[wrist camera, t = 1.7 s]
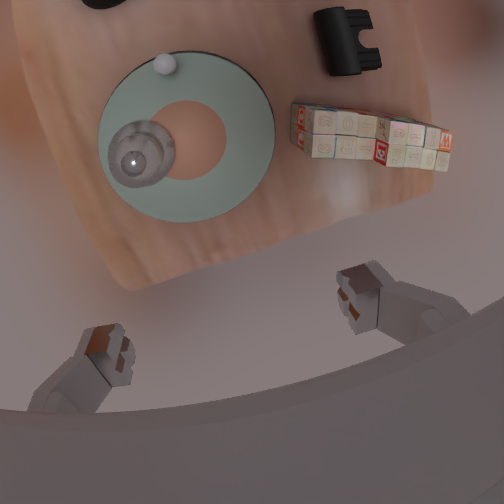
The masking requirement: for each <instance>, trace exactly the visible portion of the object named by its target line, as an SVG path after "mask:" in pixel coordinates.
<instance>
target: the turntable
mask: <svg viewBox="0 0 504 504" xmlns="http://www.w3.org/2000/svg"><path fill="white" fill-rule="evenodd" d="M139 120H148V121H152V122H155V123H157V124H159V125H161V126H162V127H164V128H165V129H166V130H167V131H168V133H169V134H170V136H171V138H172V140H173V143H174V147H175V156H174V161H173V164H172V167H171V169H170V171H169V172H168V174H167V175H166V176H165V177H164V178H163V179H162V180H161V181H159V182H158V183H156V184H154V185H151V186H148V187H141V188H128V187H125V186H123V185H121V184H119V183H118V182H117V181H116V180H115V179H114V177H113V176H112V174H111V172H110V168H109V162H108V148H109V144H110V142H111V140H112V138H113V136H114V135H115V134H116V132H117V131H118V130H120V129H121V128H122V127H124V126H125V125H127V124H129V123H131V122H134V121H139ZM274 142H275V128H274V120H273V115H272V111H271V109H270V106H269V103H268V101H267V99H266V97H265V95H264V93H263V92H262V90H261V89H260V87H259V86H258V85H257V83H256V82H255V81H254V80H253V79H252V78H251V77H250V76H249V75H248V74H247V73H246V72H244V71H243V70H242V69H240V68H239V67H238V66H236V65H234V64H232V63H230V62H228V61H226V60H224V59H221V58H219V57H216V56H212V55H207V54H202V53H177V54H172V55H170V54H166V53H164V54H160V55H158V56H157V57H156V58H155V60H153V61H151V62H149V63H147V64H145V65H143V66H141V67H140V68H138V69H137V70H135V71H134V72H132V73H131V74H130V75H129V76H128V77H127V78H126V79H124V80H123V81H122V83H121V84H120V85H119V86H118V87H117V88H116V90H115V91H114V93H113V94H112V96H111V97H110V99H109V101H108V103H107V105H106V107H105V109H104V111H103V115H102V118H101V121H100V126H99V133H98V148H99V156H100V160H101V164H102V167H103V170H104V172H105V175H106V177H107V179H108V180H109V182H110V184H111V186H112V187H113V188H114V190H115V191H116V192H117V194H118V195H119V196H120V197H121V198H122V199H123V200H124V201H125V202H127V203H128V204H129V205H131V206H132V207H133V208H135V209H136V210H138V211H140V212H141V213H143V214H146V215H148V216H150V217H152V218H156V219H159V220H163V221H169V222H178V223H189V222H198V221H203V220H207V219H211V218H214V217H217V216H219V215H221V214H224V213H226V212H227V211H229V210H231V209H233V208H234V207H236V206H237V205H238V204H240V203H241V202H242V201H244V200H245V199H246V198H247V197H248V196H249V195H250V194H251V193H252V192H253V191H254V189H255V188H256V187H257V186H258V185H259V183H260V181H261V180H262V178H263V177H264V175H265V173H266V171H267V169H268V167H269V164H270V161H271V158H272V154H273V149H274Z"/></svg>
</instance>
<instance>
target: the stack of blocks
mask: <svg viewBox="0 0 504 504" xmlns="http://www.w3.org/2000/svg"><path fill="white" fill-rule="evenodd" d="M453 134H454V133H453V132H451V131H449V130H445V129H442V128H439V127H437V126H434V125H431V124H426V123H423V122H419V121H416V120H414V119H410V118H406V117H402V116H397V115H393V114H388V113H382V112H377V111H371V110H359V109H351V108H340V107H333V106H329V105H318V104H300V103H292V115H291V131H290V141H291V142H292V143H293V144H295V145H296V146H297V147H299V148H300V149H301V150H303V151H304V152H305V153H306V154H307V155H309V156H310V157H312V158H339V159H366V160H372V159H374V160H375V161H376V162H379V163H380V164H382V165H384V166H388V167H414V168H419V169H428V170H435V171H444V172H447V169H448V164H449V159H450V155H451V153H450V151H451V148H452V141H453Z"/></svg>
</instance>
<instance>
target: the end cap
mask: <svg viewBox="0 0 504 504" xmlns="http://www.w3.org/2000/svg"><path fill="white" fill-rule="evenodd" d="M313 17H314V20H315V23H316V27H317V30H318V33H319V37H320V40H321V44H322V47H323V51H324V55H325V58H326V62H327V66H328V70H329V74H330V76H349V75H357V74H361V73H362V72H361V71H368V70H377V69H378V68H381V67H382V62H381V58H380V54H379V49H378V48H365V47H364V46H362V45H361V44H360V42H359V40H358V34H359V32H360V31H361V30H363V29H373V26H372V22H371V19H370V15H369V12H368V11H367V10H362V9H352V10H345V8H344V7H332V8H326V9H322V10H318V11H316V12H314V13H313Z"/></svg>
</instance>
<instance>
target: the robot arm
mask: <svg viewBox="0 0 504 504" xmlns="http://www.w3.org/2000/svg"><path fill="white" fill-rule="evenodd" d="M336 277H337V283H338V284H339V286H340V288H339V289H338V291H337V295H338V302H339V306H340V308H341V311H342V312H343V314H344V315H345V316H347V317H349V325H350V326H351V328H352V329H353V331H354V333H355V335H357V334H360V333H363V332H367V331H369V330H373V329H376V328H377V329H378V330H379V331H381V332H383V333H385V334H387V335H388V336H390V337H392V338H394V339H396V340H397V341H399V342H401V343H403V344H405V346H403V347H401V348H398V349H396V350H393V351H391V352H388V353H386V354H383V355H380V356H378V357H375V358H372V359H370V360H367V361H364V362H361V363H359V364H356V365H353V366H350V367H347V368H344V369H341V370H338V371H335V372H331V373H328V374H325V375H321V376H318V377H315V378H311V379H308V380H304V381H300V382H297V383H293V384H289V385H285V386H281V387H278V388H273V389H269V390H265V391H260V392H256V393H251V394H247V395H242V396H237V397H232V398H227V399H222V400H216V401H210V402H204V403H197V404H191V405H184V406H176V407H168V408H160V409H150V410H139V411H125V412H107V413H95V412H96V410H97V409H98V407H99V406H100V404H101V403H102V402H103V400H104V399H105V397H106V396H107V395H108V393H109V392H110V390H111V389H112V387H117V386H125V385H130V384H131V379H132V374H133V371H132V370H131V366H132V365H133V364H134V363H135V358H136V356H135V349H134V346H133V344H132V342H131V340H130V339H128V338H127V337H125V336H124V334H125V330H124V329H123V327H122V325H121V324H118V323H116V324H110V325H104V326H98V327H92V328H87V329H85V330H84V332H83V335H82V337H81V339H80V341H79V344H78V346H77V349H76V351H75V353H74V356H73V357H70V358H69V359H68V360H67V361H66V362H64V363H63V364H62V365H61V366H60V367H59V368H58V369H57V370H56V371H55V372H54V373H53V374H52V375H51V376H50V377H49V378H47V379H46V380H45V381H44V382H43V383H42V384H41V385H40V386H39V387H38V388H37V389H36V390H35V391H34V393H33V396H32V399H31V401H30V404H29V406H28V409H27V411H14V410H5V409H0V504H504V297H502V298H501V299H499V300H497V301H495V302H494V303H492V304H490V305H488V306H486V307H485V308H483V309H481V310H479V311H477V312H476V313H474V314H472V315H471V314H470V313H469V312H467V310H466V309H465V308H464V307H463V306H462V305H461V304H460V303H459V302H458V301H457V300H456V299H455V298H453V297H450V296H447V295H444V294H441V293H437V292H434V291H431V290H428V289H424V288H421V287H418V286H415V285H412V284H409V283H405V282H402V281H398V282H396V281H395V280H394V279H393V278H392V277H391V275H389V273H388V272H387V271H386V270H385V269H384V268H383V267H382V266H381V265H380V264H379V263H378V262H377V261H375V260H372V261H369V262H366V263H363V264H361V265H358V266H354V267H351V268H347V269H344V270H341V271H337V276H336Z"/></svg>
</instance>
